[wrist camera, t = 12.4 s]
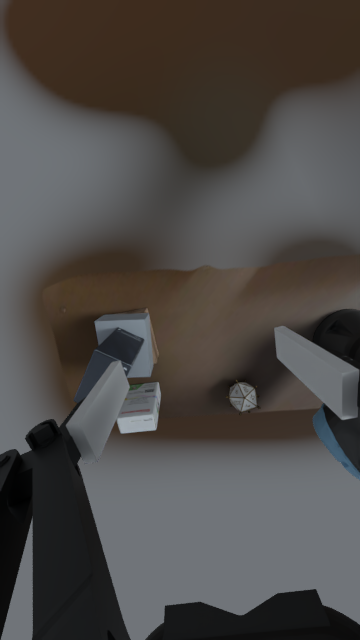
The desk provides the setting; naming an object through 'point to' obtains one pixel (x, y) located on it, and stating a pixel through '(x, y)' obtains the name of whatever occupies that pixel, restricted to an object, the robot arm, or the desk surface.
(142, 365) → the grey slab
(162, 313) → the desk surface
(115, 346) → the small box
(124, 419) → the ink box
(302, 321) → the desk surface
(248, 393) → the game die
